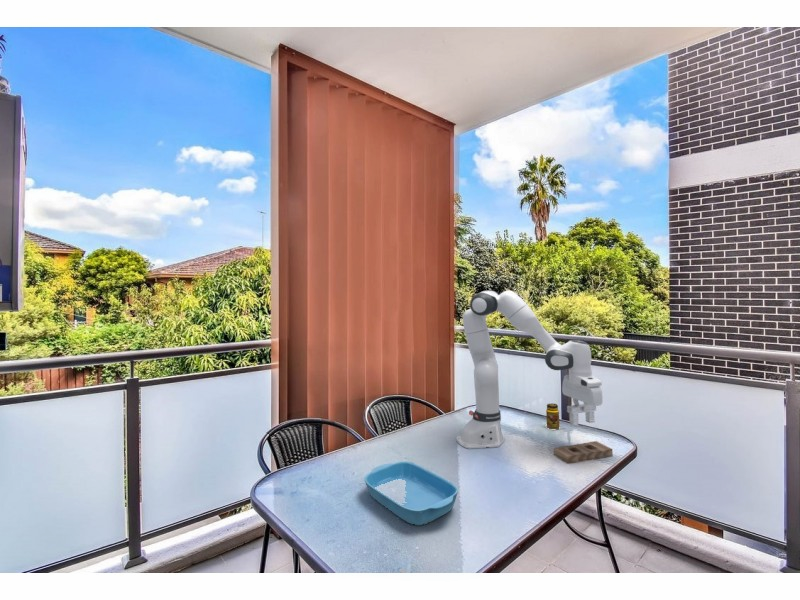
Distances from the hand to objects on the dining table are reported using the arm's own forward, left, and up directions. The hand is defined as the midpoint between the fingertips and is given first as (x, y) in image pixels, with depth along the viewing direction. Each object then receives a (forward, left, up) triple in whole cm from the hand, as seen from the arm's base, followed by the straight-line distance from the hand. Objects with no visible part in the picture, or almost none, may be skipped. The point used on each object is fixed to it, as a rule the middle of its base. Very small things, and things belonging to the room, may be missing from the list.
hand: (581, 410), depth 162 cm
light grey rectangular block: (0, 0, -5) cm, 5 cm away
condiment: (+9, +33, -20) cm, 39 cm away
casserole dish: (-80, -11, -20) cm, 83 cm away
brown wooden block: (0, 0, -19) cm, 19 cm away
